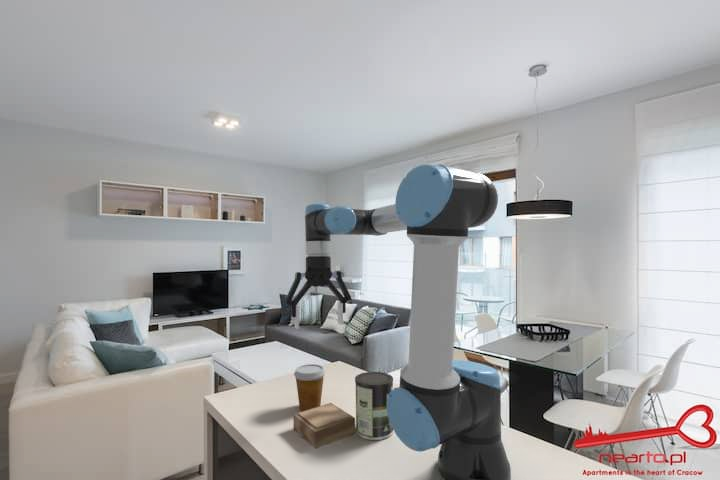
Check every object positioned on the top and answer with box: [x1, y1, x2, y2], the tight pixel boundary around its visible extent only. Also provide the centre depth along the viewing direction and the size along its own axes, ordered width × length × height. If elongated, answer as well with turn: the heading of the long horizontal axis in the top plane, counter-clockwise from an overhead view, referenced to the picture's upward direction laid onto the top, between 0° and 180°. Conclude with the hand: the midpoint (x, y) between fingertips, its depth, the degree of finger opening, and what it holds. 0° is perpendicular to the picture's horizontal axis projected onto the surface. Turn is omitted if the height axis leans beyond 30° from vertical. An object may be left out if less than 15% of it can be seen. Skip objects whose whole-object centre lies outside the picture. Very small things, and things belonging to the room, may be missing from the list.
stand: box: [292, 402, 356, 449], centre depth 97 cm, size 12×12×4 cm
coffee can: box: [354, 371, 395, 441], centre depth 97 cm, size 10×10×14 cm
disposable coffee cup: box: [293, 363, 326, 412], centre depth 111 cm, size 10×10×12 cm
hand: (319, 326), depth 109 cm, fingers open, 13 cm apart
